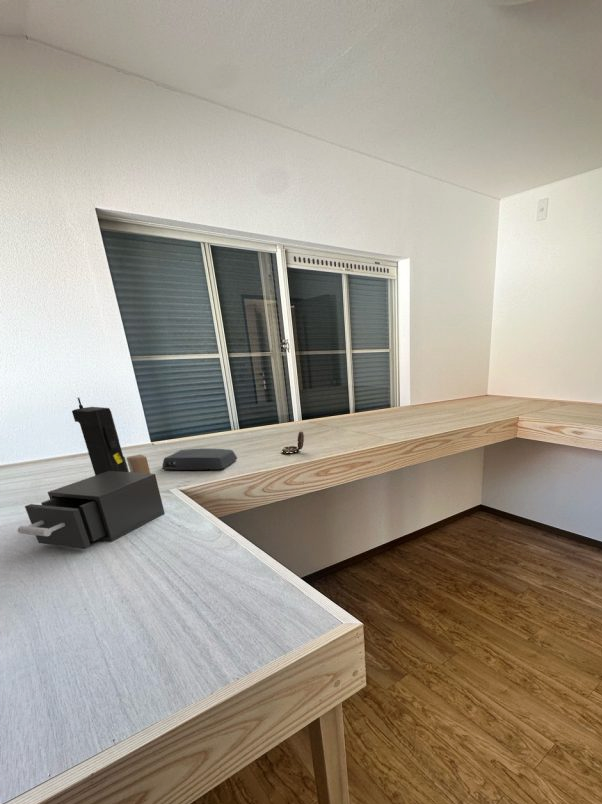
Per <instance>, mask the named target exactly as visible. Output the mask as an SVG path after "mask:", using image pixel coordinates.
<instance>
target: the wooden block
mask: <svg viewBox="0 0 602 804" xmlns="http://www.w3.org/2000/svg"><path fill="white" fill-rule="evenodd" d="M126 462H127V466H128V470H129V472H135V473H150V474H151V471H150V467H149V466H150V465H149V462H148V458H147V456H146V455H144V454H136V455H130V456H127V457H126Z"/></svg>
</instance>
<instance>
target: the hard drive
mask: <svg viewBox="0 0 602 804" xmlns="http://www.w3.org/2000/svg"><path fill="white" fill-rule="evenodd" d="M236 459H237V460H238V456H237V454H236V453H235V451H234V450H232V449H229V448H207V447H205V448H188V449H180V450H178V451H176V452H174V453H172V454H170V455H168V456H166V457H164V458H163V461H162V466H161V467H162V468H161V469H162V470H170V471H171V470H172V471H173V470H174V471H196V470H197V471H205V470H206V471H207V469H210V470H224V469H225V468H227V467H228V466H230V465H231V464H232V463H234V462H235V461H236ZM229 464H230V465H229ZM226 466H227V467H226ZM223 468H224V469H223ZM203 469H204V470H203Z"/></svg>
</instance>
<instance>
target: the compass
mask: <svg viewBox="0 0 602 804" xmlns="http://www.w3.org/2000/svg"><path fill="white" fill-rule="evenodd" d="M304 441H305V434H304V432H303V430H298V435H297V446H295V445H291V446H284V447H283V448H282V449H281V452H282V451H283V452H288V453H290V452H295V451H299V450H302V449H303V447H304V444H305V443H304ZM283 452H282V453H283ZM299 452H300V451H299Z"/></svg>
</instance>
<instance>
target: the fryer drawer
mask: <svg viewBox="0 0 602 804" xmlns="http://www.w3.org/2000/svg"><path fill="white" fill-rule="evenodd" d="M24 508H25V511H26V514H27V516H28V519H29V521H30V524H29V525H20V526H18V528H17V532H18V533H19V534H21V535H22V534H23V535H32V536H35V537H36V540H37V542H38V544H41V545H51V546H59V547H66V548H75V549H80V550H82V549H83V550H86V549H89V548H91V542H96V541H99V540H98V539H99V538H101V537H103V536H105V535H107V532H106V528H105V525H104V522H103V519H102V515H101V512H100V509H99V506H98V503H97V500H90V499H79V498H68V497H55V498H53V499H50V498H49V499H48V500H44V501H42V502H41V504H34V503H29V504H27V505H25V506H24Z"/></svg>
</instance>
